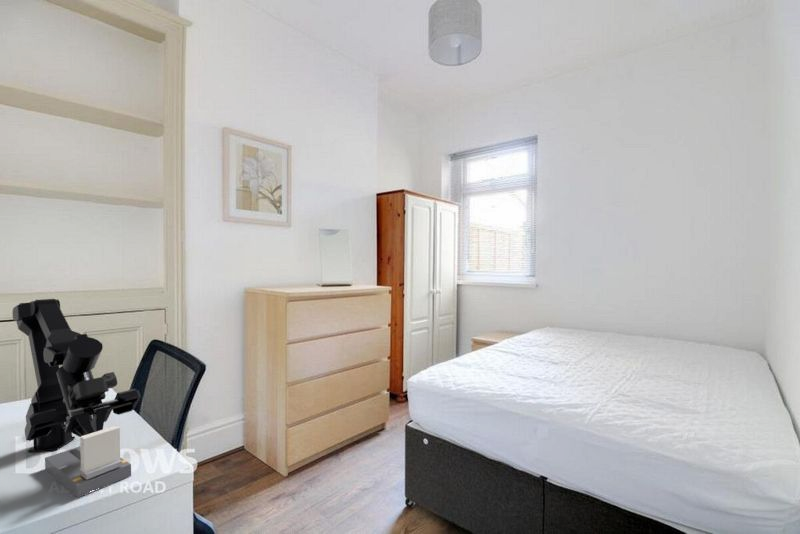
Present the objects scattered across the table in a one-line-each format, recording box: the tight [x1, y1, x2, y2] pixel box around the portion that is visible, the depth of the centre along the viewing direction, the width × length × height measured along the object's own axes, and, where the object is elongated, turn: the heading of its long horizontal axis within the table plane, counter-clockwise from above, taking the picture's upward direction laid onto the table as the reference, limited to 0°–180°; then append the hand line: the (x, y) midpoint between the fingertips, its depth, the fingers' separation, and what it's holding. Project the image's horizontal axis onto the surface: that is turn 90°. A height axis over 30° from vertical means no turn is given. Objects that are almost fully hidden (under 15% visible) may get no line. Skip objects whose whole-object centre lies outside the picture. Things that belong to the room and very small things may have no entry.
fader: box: [79, 425, 122, 480], centre depth 77 cm, size 4×6×8 cm, turn 147°
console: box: [44, 445, 132, 499], centre depth 81 cm, size 20×9×3 cm, turn 57°
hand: (98, 446), depth 77 cm, fingers closed, pressing on fader
